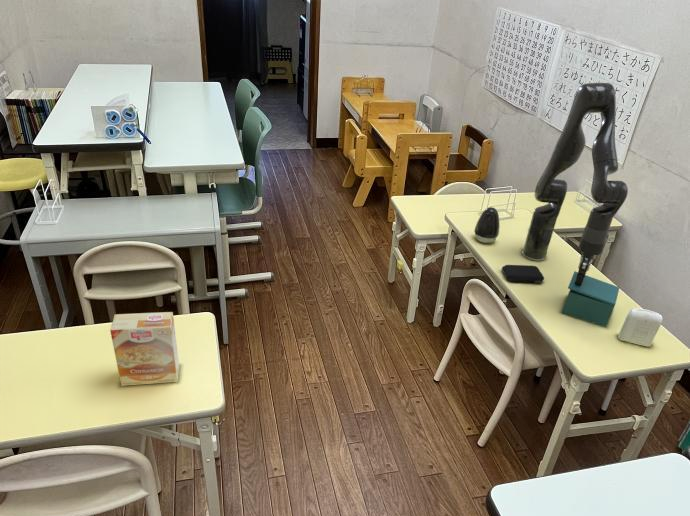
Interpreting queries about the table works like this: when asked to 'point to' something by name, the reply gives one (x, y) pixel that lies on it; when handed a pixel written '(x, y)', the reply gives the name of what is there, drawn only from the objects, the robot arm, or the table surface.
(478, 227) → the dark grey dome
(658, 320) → the photo printer
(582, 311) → the chest
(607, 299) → the lid
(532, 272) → the carrying case
